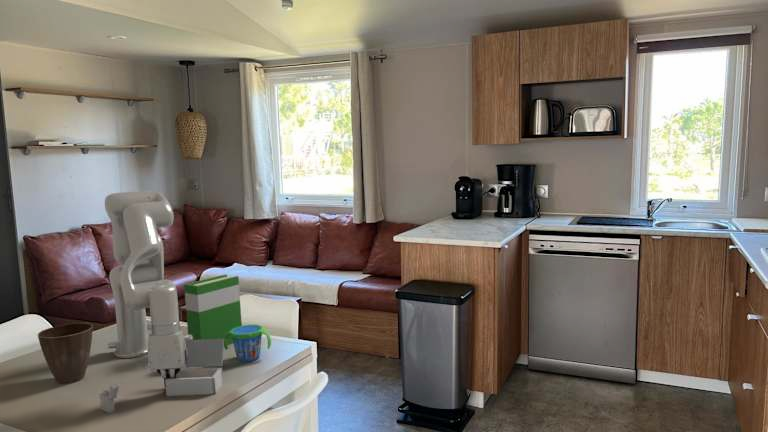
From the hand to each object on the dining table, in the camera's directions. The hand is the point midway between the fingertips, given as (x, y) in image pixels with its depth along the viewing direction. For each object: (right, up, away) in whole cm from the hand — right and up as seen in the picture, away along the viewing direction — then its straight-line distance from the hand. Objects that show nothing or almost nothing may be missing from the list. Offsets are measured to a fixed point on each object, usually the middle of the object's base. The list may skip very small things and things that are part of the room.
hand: (171, 389), depth 163 cm
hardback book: (+1, +3, +40) cm, 40 cm away
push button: (-3, +1, +20) cm, 20 cm away
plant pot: (-36, -1, +13) cm, 39 cm away
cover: (+6, +9, +6) cm, 13 cm away
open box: (+7, 0, +1) cm, 7 cm away
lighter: (-12, -3, -11) cm, 16 cm away
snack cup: (+16, +2, +25) cm, 30 cm away
